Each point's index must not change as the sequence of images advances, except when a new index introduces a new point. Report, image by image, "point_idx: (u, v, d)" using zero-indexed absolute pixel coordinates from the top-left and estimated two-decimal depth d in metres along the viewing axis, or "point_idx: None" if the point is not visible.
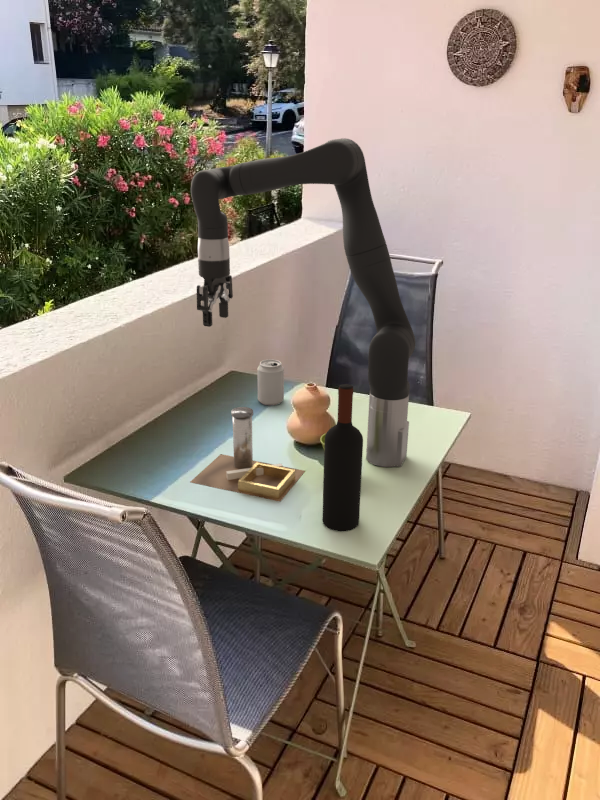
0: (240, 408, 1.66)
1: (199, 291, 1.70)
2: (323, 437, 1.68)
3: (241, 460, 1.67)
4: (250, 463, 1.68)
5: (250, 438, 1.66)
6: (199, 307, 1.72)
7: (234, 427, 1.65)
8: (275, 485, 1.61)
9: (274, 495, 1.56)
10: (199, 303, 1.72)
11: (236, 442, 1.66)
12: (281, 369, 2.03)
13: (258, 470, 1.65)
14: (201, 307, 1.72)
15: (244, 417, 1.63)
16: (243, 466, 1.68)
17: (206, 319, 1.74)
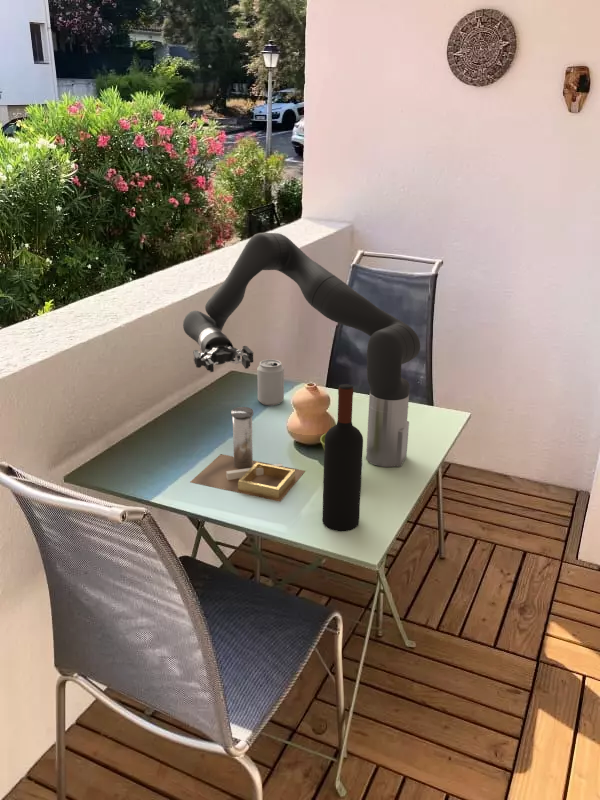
0: (240, 408, 1.66)
1: (194, 358, 1.78)
2: (323, 437, 1.68)
3: (241, 460, 1.67)
4: (250, 463, 1.68)
5: (250, 438, 1.66)
6: (196, 364, 1.74)
7: (234, 427, 1.65)
8: (275, 485, 1.61)
9: (274, 495, 1.56)
10: None
11: (236, 442, 1.66)
12: (281, 369, 2.03)
13: (258, 470, 1.65)
14: None
15: (244, 417, 1.63)
16: (243, 466, 1.68)
17: (206, 364, 1.72)
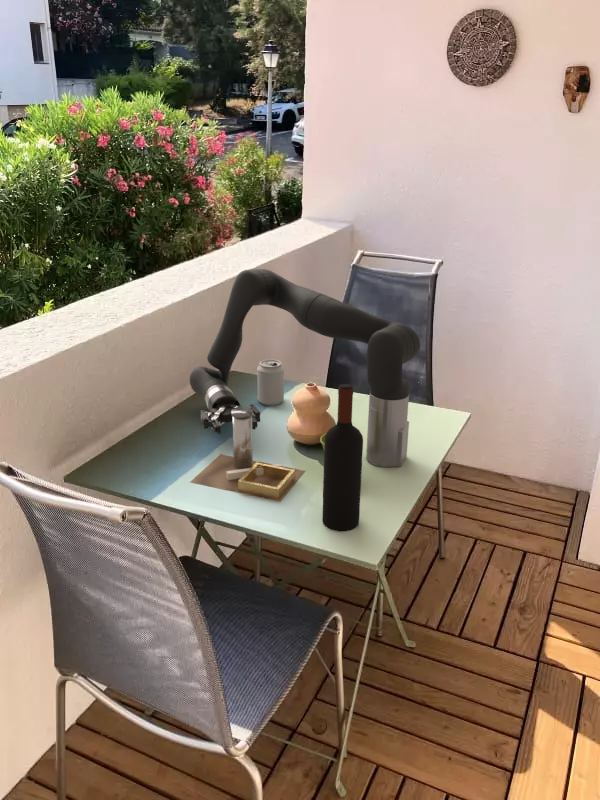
0: (240, 408, 1.66)
1: (201, 418, 1.79)
2: (323, 437, 1.68)
3: (241, 459, 1.67)
4: (250, 463, 1.68)
5: (250, 438, 1.66)
6: (203, 425, 1.75)
7: (234, 427, 1.65)
8: (275, 485, 1.61)
9: (274, 495, 1.56)
10: None
11: (236, 442, 1.66)
12: (281, 369, 2.03)
13: (258, 470, 1.65)
14: None
15: (244, 417, 1.63)
16: (243, 466, 1.68)
17: (213, 426, 1.73)
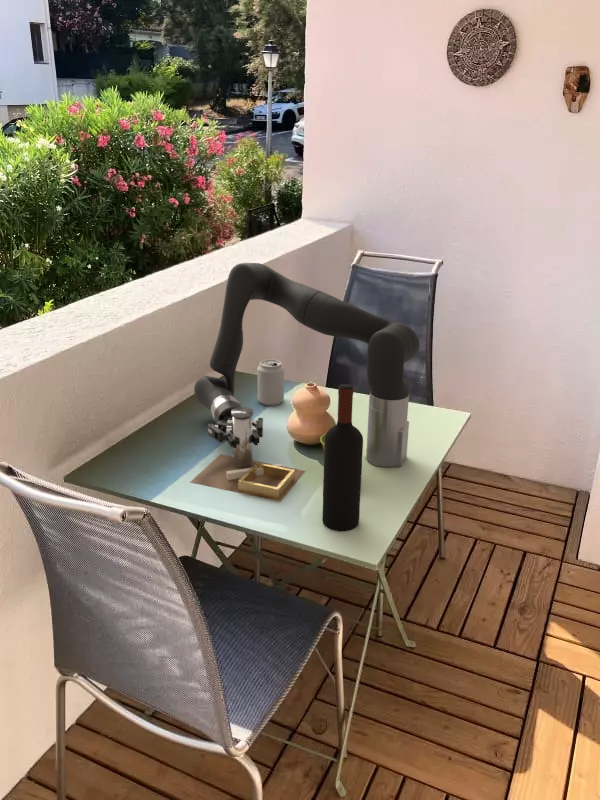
0: (240, 408, 1.66)
1: (210, 433, 1.71)
2: (323, 437, 1.68)
3: (241, 460, 1.67)
4: (250, 463, 1.68)
5: (250, 438, 1.66)
6: (218, 438, 1.68)
7: (234, 427, 1.65)
8: (275, 485, 1.61)
9: (274, 495, 1.56)
10: (217, 438, 1.69)
11: None
12: (281, 369, 2.03)
13: (258, 470, 1.65)
14: None
15: (244, 417, 1.63)
16: (243, 466, 1.68)
17: (228, 440, 1.65)
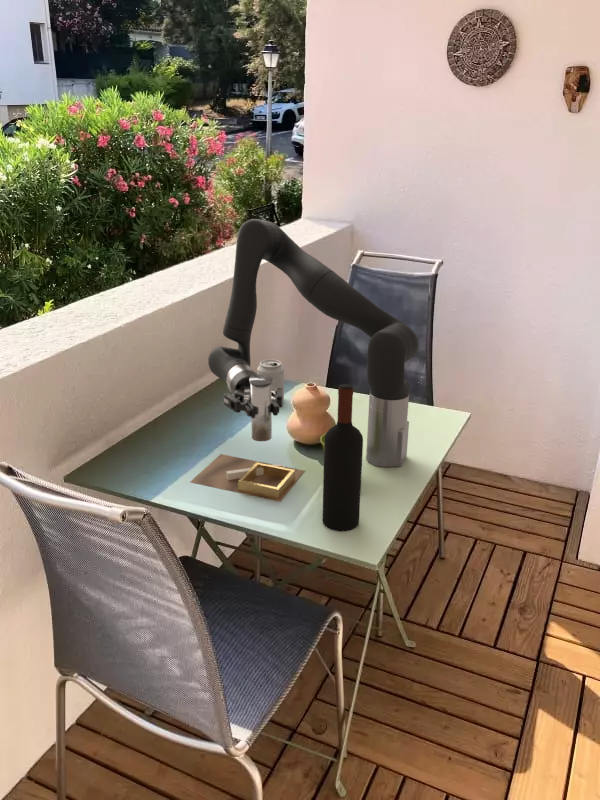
0: (259, 375, 1.55)
1: (226, 403, 1.60)
2: (323, 437, 1.68)
3: (260, 431, 1.56)
4: (269, 435, 1.58)
5: (269, 408, 1.55)
6: (235, 408, 1.57)
7: (252, 395, 1.54)
8: (275, 485, 1.61)
9: (274, 495, 1.56)
10: (234, 408, 1.58)
11: None
12: (281, 369, 2.03)
13: (258, 470, 1.65)
14: None
15: (263, 384, 1.52)
16: (262, 438, 1.57)
17: (246, 410, 1.55)
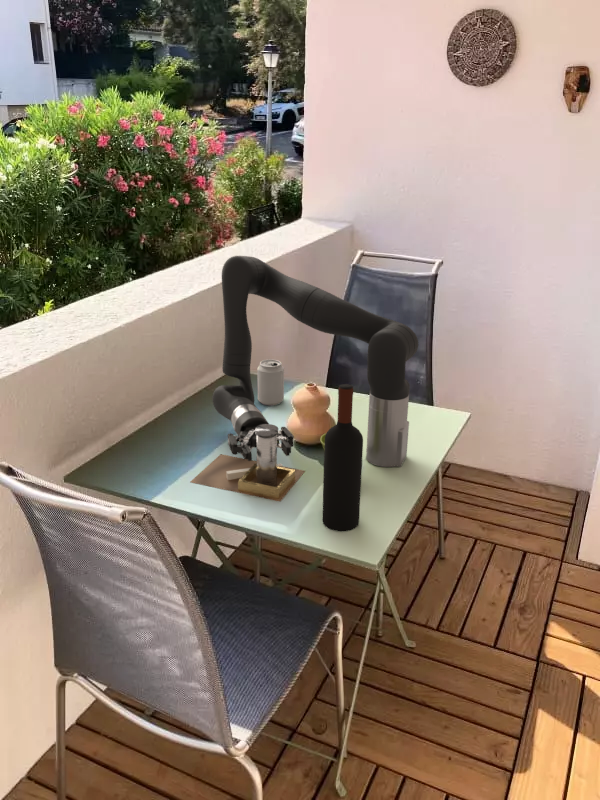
0: (264, 425, 1.57)
1: (229, 443, 1.62)
2: (323, 437, 1.68)
3: (265, 479, 1.58)
4: (274, 483, 1.60)
5: (275, 457, 1.57)
6: (231, 450, 1.59)
7: (258, 446, 1.56)
8: None
9: (274, 495, 1.56)
10: None
11: (260, 461, 1.57)
12: (281, 369, 2.03)
13: None
14: None
15: (269, 436, 1.54)
16: None
17: (243, 452, 1.56)
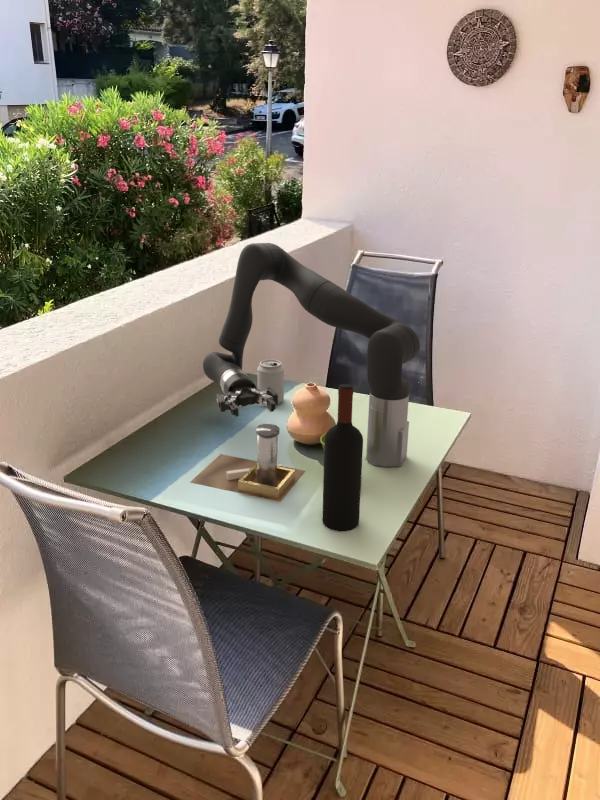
0: (265, 425, 1.57)
1: (217, 402, 1.74)
2: (323, 437, 1.68)
3: (265, 479, 1.58)
4: (274, 483, 1.60)
5: (275, 457, 1.57)
6: (220, 408, 1.71)
7: (259, 445, 1.56)
8: None
9: (274, 495, 1.56)
10: None
11: (260, 461, 1.57)
12: (281, 369, 2.03)
13: None
14: None
15: (270, 435, 1.54)
16: None
17: (230, 409, 1.68)
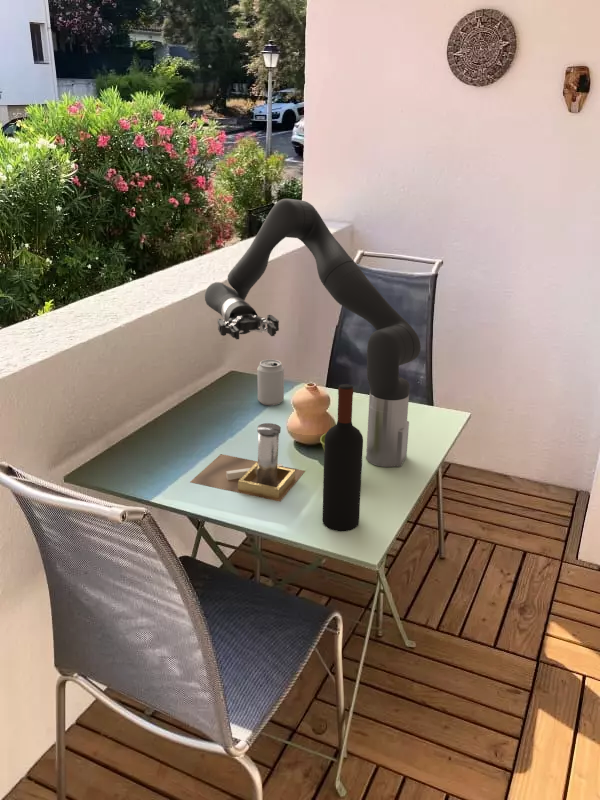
0: (266, 424, 1.58)
1: (218, 327, 1.74)
2: (323, 437, 1.68)
3: (266, 479, 1.58)
4: (275, 482, 1.60)
5: (276, 457, 1.58)
6: (221, 331, 1.71)
7: (260, 444, 1.56)
8: None
9: (274, 495, 1.56)
10: None
11: (261, 460, 1.57)
12: (281, 369, 2.03)
13: None
14: None
15: (272, 434, 1.54)
16: None
17: (231, 332, 1.68)
